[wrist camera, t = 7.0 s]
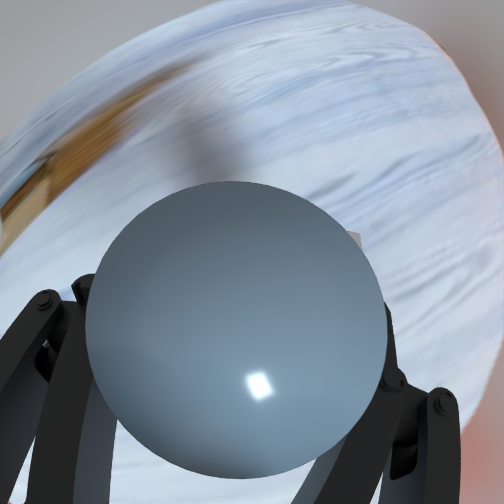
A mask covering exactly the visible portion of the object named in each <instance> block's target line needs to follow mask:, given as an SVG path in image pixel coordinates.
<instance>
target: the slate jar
mask: <svg viewBox="0 0 504 504" xmlns="http://www.w3.org/2000/svg"><path fill="white" fill-rule="evenodd" d="M85 330H86V345H87V351H88V356H89V361H90V365H91V369H92V372H93V375H94V378H95V381H96V383H97V385H98V388H99V390H100V392H101V394H102V396H103V398H104V400H105V401H106V403H107V405H108V406H109V408H110V409H111V411H112V413H113V414H114V415H115V417H116V418H117V419H118V420H119V422H120V423H121V424H122V425H123V427H124V428H125V429H126V430H127V431H128V432H129V433H130V434H131V435H132V436H133V437H134V438H135V439H136V440H137V441H139V442H140V443H141V444H142V445H144V446H145V447H146V448H148V449H149V450H150V451H152V452H153V453H155V454H156V455H158V456H159V457H161V458H163V459H165V460H166V461H168V462H170V463H172V464H174V465H177V466H179V467H181V468H184V469H186V470H189V471H192V472H196V473H199V474H203V475H207V476H213V477H219V478H227V479H251V478H261V477H267V476H272V475H276V474H280V473H284V472H287V471H289V470H292V469H295V468H298V467H300V466H302V465H304V464H306V463H308V462H310V461H312V460H314V459H316V458H318V457H319V456H320V455H322V454H323V453H325V452H326V451H328V450H329V449H330V448H332V447H333V446H334V445H336V444H337V443H338V442H339V441H340V440H341V439H342V438H343V437H344V436H345V435H346V434H347V433H348V432H349V431H350V430H351V429H352V428H353V426H354V425H355V424H356V423H357V421H358V420H359V419H360V418H361V416H362V415H363V413H364V411H365V410H366V408H367V407H368V405H369V403H370V401H371V400H372V398H373V395H374V393H375V391H376V388H377V386H378V383H379V381H380V378H381V374H382V370H383V366H384V362H385V356H386V348H387V317H386V311H385V306H384V300H383V296H382V293H381V290H380V287H379V284H378V281H377V278H376V276H375V274H374V272H373V269H372V267H371V265H370V263H369V261H368V259H367V258H366V256H365V255H364V253H363V252H362V250H361V249H360V247H359V246H358V244H357V243H356V241H355V240H354V239H353V238H352V237H351V236H350V235H349V233H348V232H347V231H346V230H345V229H344V228H343V227H342V226H341V225H340V224H339V223H338V222H337V221H335V220H334V219H333V218H332V217H331V216H330V215H328V214H327V213H326V212H325V211H323V210H322V209H320V208H319V207H317V206H315V205H314V204H312V203H311V202H309V201H308V200H305V199H303V198H301V197H299V196H297V195H295V194H293V193H290V192H288V191H285V190H282V189H279V188H275V187H272V186H269V185H263V184H257V183H251V182H235V181H225V182H215V183H207V184H202V185H198V186H194V187H190V188H187V189H184V190H181V191H179V192H176V193H173V194H171V195H169V196H167V197H165V198H163V199H161V200H159V201H158V202H156V203H154V204H152V205H151V206H150V207H148V208H147V209H145V210H144V211H143V212H141V213H140V214H138V215H137V216H136V217H135V218H134V219H133V220H132V221H131V222H130V223H129V224H128V225H127V226H126V227H125V228H124V229H123V230H122V231H121V232H120V234H119V235H118V236H117V237H116V238H115V240H114V241H113V242H112V244H111V245H110V247H109V248H108V250H107V252H106V253H105V255H104V256H103V258H102V260H101V263H100V265H99V267H98V269H97V271H96V273H95V276H94V279H93V282H92V286H91V289H90V292H89V298H88V303H87V309H86V324H85Z"/></svg>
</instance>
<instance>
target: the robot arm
mask: <svg viewBox="0 0 504 504" xmlns="http://www.w3.org/2000/svg"><path fill="white" fill-rule="evenodd" d="M347 232H348V233H349V235H350V236H351V237H352V238H353V239H354V240H355V241H356V243H357V244H358V246H359V247H360V249H361V250H362V245H361V239H360V234H358V233H354V232H350V231H347ZM94 276H95V274H87V275H84V276H81V277H80V278H78V279H77V280H75V281H74V283H73V284H72V285H71V287H72V290H73V293H74V295H75V298H76V300H77V302H74V301H62V300H61V298H60V296H59V294H58V292H56V291H55V290H51V289H47V290H43V291H41V292H39V293H37V294H36V295H35V296H34V297H33V298H32V299H31V300H30V301H29V303H28V304H27V305H26V306H25V308H24V309H23V310H22V311H21V313H20V314H19V315H18V317H17V318H16V319H15V321H14V322H13V323H12V325H11V326H10V327H9V329H8V330H7V331H6V333H5V334H4V336H3V337H2V338H1V340H0V504H7V503H8V501H9V499H10V496H11V494H12V491H13V488H14V486H15V483H16V480H17V478H18V475H19V473H20V470H21V468H22V465H23V463H24V461H25V458H26V456H27V454H28V451H29V449H30V447H31V445H32V443H33V440H34V438H35V442H34V447H33V453H32V459H31V465H30V471H29V479H28V487H27V497H26V501H25V503H24V504H109V497H110V481H111V468H112V458H113V449H114V440H115V432H116V425H117V418H116V417H115V415H114V414H113V413H112V411H111V409H110V408H109V406H108V405H107V403H106V401H105V400H104V398H103V396H102V394H101V392H100V390H99V388H98V385H97V383H96V381H95V378H94V375H93V372H92V369H91V365H90V361H89V356H88V351H87V345H86V330H85V324H86V309H87V303H88V298H89V292H90V289H91V286H92V282H93V279H94ZM384 306H385V311H386V317H387V348H386V356H385V362H384V366H383V370H382V374H381V378H380V381H379V383H378V386H377V388H376V391H375V393H374V395H373V398H372V400H371V401H370V403H369V405H368V407H367V408H366V410H365V411H364V413H363V415H362V416H361V418H360V419H359V420H358V421H357V423H356V424H355V425H354V426H353V428H352V429H351V430H350V431H349V432H348V433H347V434H346V435H345V436H344V437H343V438H342V439H341V440H340V441H339V442H338V443H337V444H336V445H334V446H333V447H332V448H330V449H329V450H328V451H326V452H325V453H323V454H322V455H320V456H319V457H318V458H317V459H316V461H315V463H314V465H313V466H312V468H311V470H310V472H309V474H308V476H307V477H306V479H305V481H304V483H303V484H302V486H301V488H300V489H299V491H298V493H297V494H296V496H295V498H294V499H293V501H292V503H291V504H370V502H371V499H372V497H373V495H374V492H375V490H376V488H377V485H378V483H379V480H380V478H381V475H382V473H383V477H382V484H381V490H380V496H379V502H378V504H459V493H460V472H461V447H460V445H461V444H460V423H459V410H458V404H457V400H456V398H455V396H454V395H453V393H452V392H450V391H449V390H448V389H445V388H442V387H439V388H435V389H433V390H432V391H430V392H429V393H427V392H425V391H422V390H420V389H418V388H416V387H413V386H412V385H410V384H408V383H407V379H406V377H405V375H404V373H403V372H402V371H401V370H400V369H399V368H398V365H397V357H396V348H395V340H394V334H393V325H392V319H391V312H390V310H389V308H388V307H387V305H386V303H385V302H384ZM45 340H47V341H48V342H47V344H46V345H44V346H43V343H44V342H45ZM35 436H36V437H35Z"/></svg>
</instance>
